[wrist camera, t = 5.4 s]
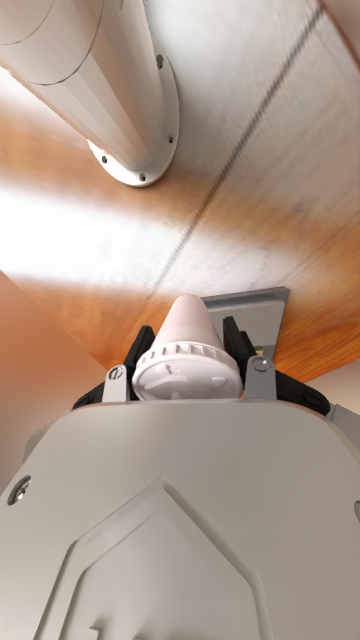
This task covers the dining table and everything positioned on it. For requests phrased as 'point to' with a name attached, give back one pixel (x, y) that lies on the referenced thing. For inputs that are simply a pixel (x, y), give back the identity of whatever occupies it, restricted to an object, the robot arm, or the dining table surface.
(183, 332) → the smoothie
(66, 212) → the dining table surface
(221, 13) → the dining table surface
